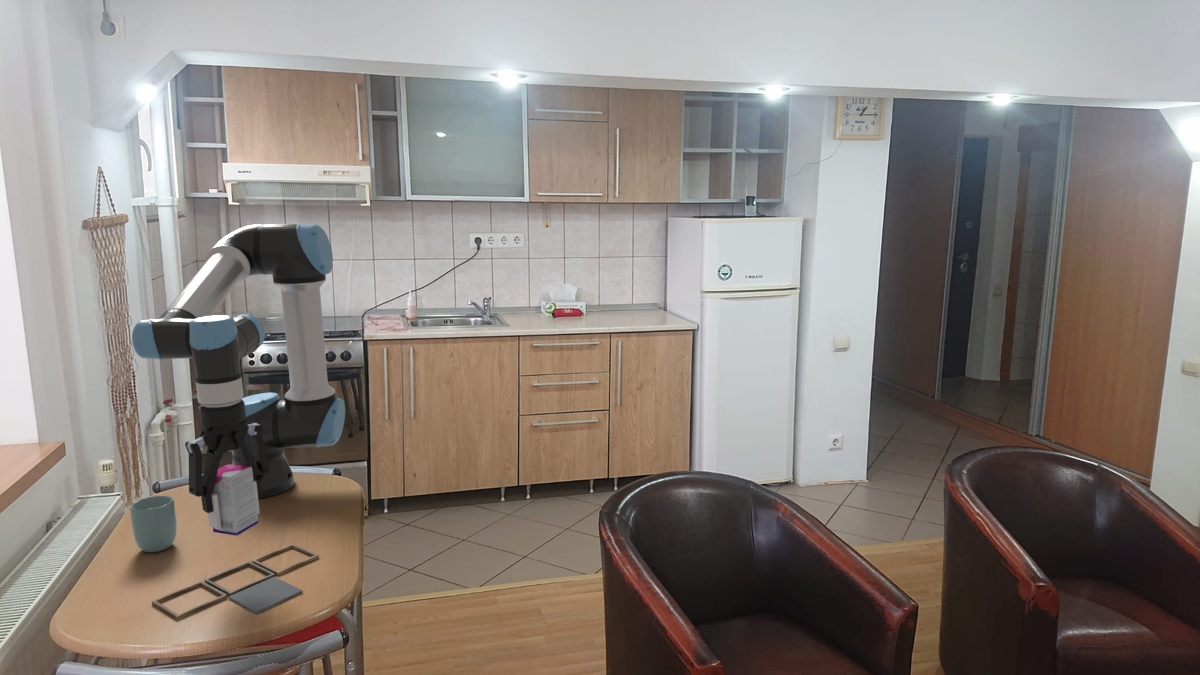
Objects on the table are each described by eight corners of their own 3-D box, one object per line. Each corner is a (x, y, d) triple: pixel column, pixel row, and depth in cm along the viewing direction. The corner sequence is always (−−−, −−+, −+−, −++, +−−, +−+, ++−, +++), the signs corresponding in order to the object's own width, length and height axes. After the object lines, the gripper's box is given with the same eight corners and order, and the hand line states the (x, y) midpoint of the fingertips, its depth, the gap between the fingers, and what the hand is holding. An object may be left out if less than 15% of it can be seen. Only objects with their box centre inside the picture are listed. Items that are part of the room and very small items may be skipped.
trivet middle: (249, 564, 155) (249, 561, 155) (275, 576, 150) (275, 573, 150) (204, 582, 148) (204, 579, 148) (230, 596, 143) (229, 593, 142)
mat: (274, 578, 149) (274, 576, 149) (302, 592, 144) (302, 590, 144) (229, 598, 142) (228, 596, 142) (256, 613, 137) (256, 611, 137)
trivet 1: (201, 583, 147) (201, 580, 147) (227, 597, 142) (227, 594, 142) (152, 604, 140) (151, 601, 140) (177, 619, 135) (176, 616, 135)
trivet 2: (292, 546, 162) (292, 543, 162) (318, 557, 157) (318, 554, 157) (251, 563, 155) (251, 560, 155) (277, 575, 150) (277, 572, 150)
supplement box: (260, 522, 149) (253, 465, 147) (236, 536, 144) (229, 478, 141) (235, 518, 151) (228, 462, 148) (211, 532, 146) (203, 474, 143)
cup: (160, 558, 158) (154, 511, 156) (126, 555, 159) (120, 508, 158) (187, 541, 165) (182, 496, 163) (155, 538, 167) (149, 494, 165)
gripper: (260, 386, 152) (272, 496, 157) (154, 411, 136) (171, 533, 141) (282, 392, 148) (294, 505, 153) (176, 419, 132) (192, 545, 137)
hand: (235, 519), depth 147 cm, fingers closed on supplement box, 7 cm apart
